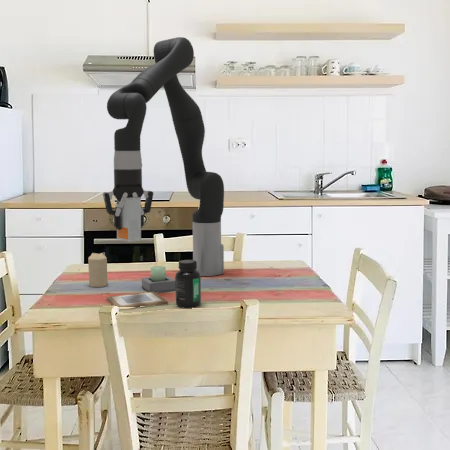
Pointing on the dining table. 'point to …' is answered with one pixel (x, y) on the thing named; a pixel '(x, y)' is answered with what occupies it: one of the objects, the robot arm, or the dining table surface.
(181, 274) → the supplement bottle
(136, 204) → the skincare box
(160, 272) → the button
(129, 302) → the board
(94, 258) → the candle
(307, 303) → the dining table surface
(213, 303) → the dining table surface
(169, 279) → the button housing
